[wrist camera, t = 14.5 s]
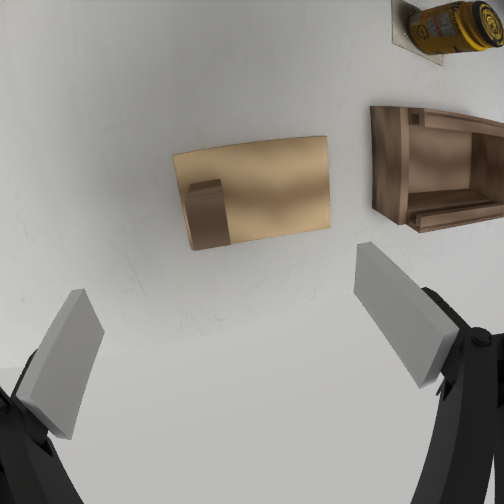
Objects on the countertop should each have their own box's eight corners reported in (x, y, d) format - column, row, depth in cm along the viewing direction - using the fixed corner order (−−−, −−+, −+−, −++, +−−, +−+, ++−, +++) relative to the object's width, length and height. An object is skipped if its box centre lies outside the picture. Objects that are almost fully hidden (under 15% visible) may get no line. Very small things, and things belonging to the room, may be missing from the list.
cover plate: (174, 154, 27) (161, 166, 20) (322, 135, 28) (358, 142, 21) (192, 246, 32) (188, 285, 24) (327, 224, 33) (357, 255, 25)
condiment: (442, 66, 25) (512, 65, 14) (391, 43, 23) (464, 27, 13) (440, 21, 22) (505, 11, 11) (390, -4, 20) (454, -31, 10)
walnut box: (370, 106, 27) (416, 107, 19) (470, 117, 28) (513, 126, 21) (372, 208, 32) (412, 234, 25) (467, 197, 33) (506, 216, 26)
